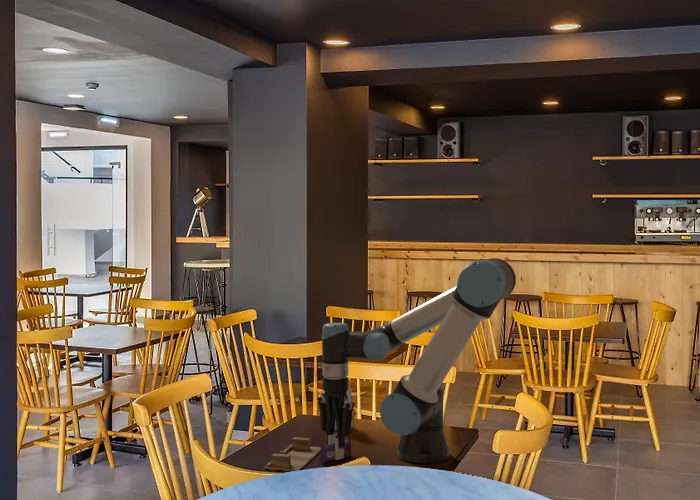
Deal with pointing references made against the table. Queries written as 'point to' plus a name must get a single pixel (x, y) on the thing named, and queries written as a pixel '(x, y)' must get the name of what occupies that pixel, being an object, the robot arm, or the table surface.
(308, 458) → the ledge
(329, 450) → the snack package
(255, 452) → the table surface
